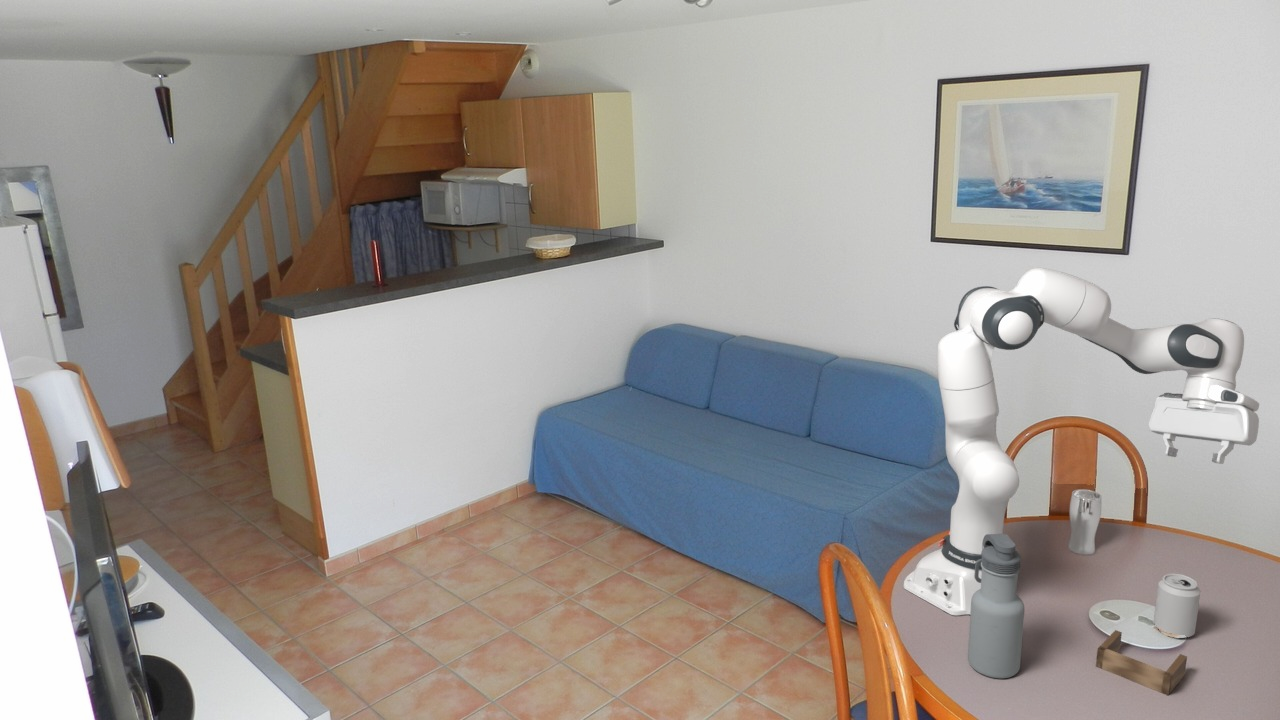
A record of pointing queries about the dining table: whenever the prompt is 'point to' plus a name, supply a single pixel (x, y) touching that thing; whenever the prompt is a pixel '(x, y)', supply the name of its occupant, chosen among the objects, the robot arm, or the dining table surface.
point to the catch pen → (1139, 667)
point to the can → (1177, 604)
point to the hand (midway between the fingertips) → (1193, 459)
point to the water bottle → (996, 610)
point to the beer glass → (1084, 520)
